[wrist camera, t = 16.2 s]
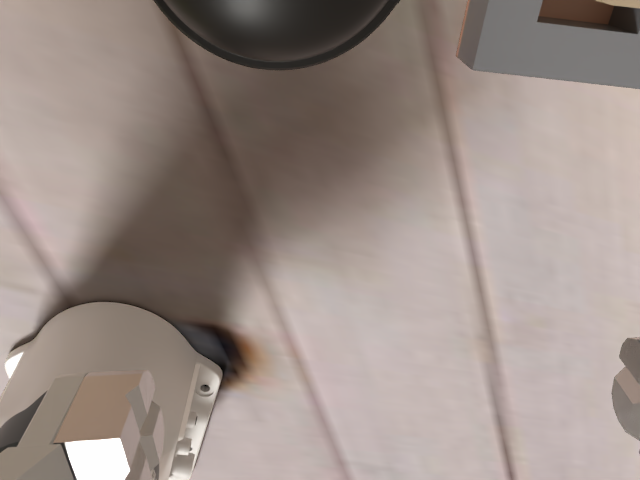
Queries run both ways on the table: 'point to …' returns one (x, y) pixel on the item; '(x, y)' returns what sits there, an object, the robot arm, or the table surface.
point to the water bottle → (277, 28)
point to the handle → (622, 3)
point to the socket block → (553, 40)
